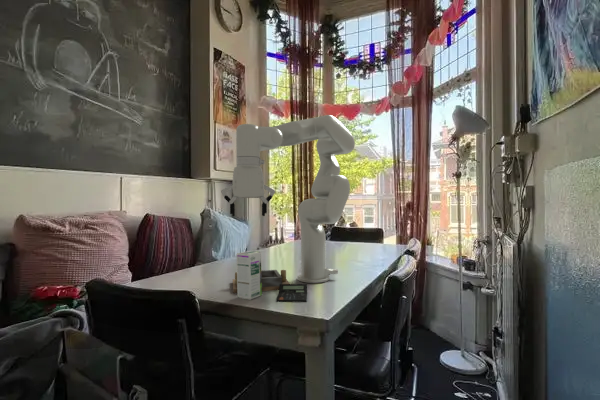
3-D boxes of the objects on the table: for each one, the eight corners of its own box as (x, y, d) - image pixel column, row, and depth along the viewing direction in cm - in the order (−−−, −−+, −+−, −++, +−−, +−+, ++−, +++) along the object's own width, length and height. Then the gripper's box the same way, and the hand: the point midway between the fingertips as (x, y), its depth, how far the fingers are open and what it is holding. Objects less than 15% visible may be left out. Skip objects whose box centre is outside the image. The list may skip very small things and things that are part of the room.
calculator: (276, 302, 107) (276, 293, 107) (279, 292, 118) (279, 283, 118) (306, 303, 107) (306, 293, 107) (307, 292, 118) (307, 283, 118)
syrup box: (250, 300, 109) (250, 253, 109) (236, 297, 112) (236, 252, 112) (262, 295, 114) (261, 251, 113) (248, 293, 117) (248, 250, 117)
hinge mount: (284, 279, 136) (284, 266, 136) (291, 289, 121) (291, 274, 121) (232, 282, 132) (232, 268, 132) (233, 292, 117) (233, 277, 117)
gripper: (273, 164, 118) (273, 215, 118) (221, 164, 115) (221, 216, 115) (276, 162, 111) (276, 216, 111) (220, 161, 107) (221, 217, 107)
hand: (248, 216), depth 113 cm, fingers open, 9 cm apart
